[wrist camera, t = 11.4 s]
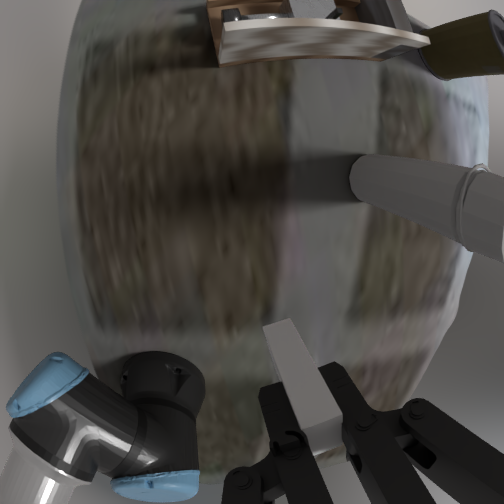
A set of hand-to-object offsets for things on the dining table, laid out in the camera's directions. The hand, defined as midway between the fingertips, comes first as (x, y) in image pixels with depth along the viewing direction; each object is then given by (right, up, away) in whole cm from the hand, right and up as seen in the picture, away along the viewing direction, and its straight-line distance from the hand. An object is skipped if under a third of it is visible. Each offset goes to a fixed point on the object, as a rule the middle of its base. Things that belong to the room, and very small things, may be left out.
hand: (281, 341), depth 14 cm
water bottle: (+16, +16, +22) cm, 32 cm away
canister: (+31, +40, +16) cm, 53 cm away
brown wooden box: (+5, +35, +13) cm, 38 cm away
